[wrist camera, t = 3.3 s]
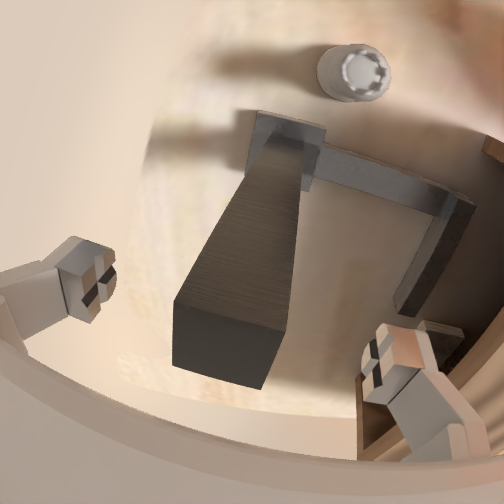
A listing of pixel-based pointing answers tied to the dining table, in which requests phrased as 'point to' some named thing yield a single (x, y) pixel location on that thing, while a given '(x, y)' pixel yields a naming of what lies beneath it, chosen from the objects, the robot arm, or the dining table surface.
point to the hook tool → (291, 248)
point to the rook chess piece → (353, 73)
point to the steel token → (442, 339)
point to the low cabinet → (462, 377)
